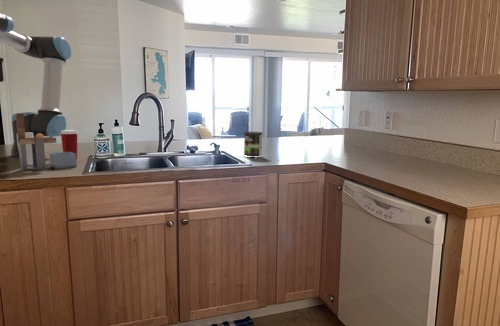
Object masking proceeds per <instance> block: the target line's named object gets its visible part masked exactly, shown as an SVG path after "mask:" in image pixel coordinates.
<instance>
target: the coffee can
mask: <svg viewBox="0 0 500 326" xmlns="http://www.w3.org/2000/svg"><path fill="white" fill-rule="evenodd" d="M243 145H244V147H243V149H244V150H243V153H244V154H243V156H244V155H247V156H260V155H262V152H263V150H262V148H263V132H261V131H245V132H244V144H243Z"/></svg>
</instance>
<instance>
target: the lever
mask: <svg viewBox="0 0 500 326" xmlns="http://www.w3.org/2000/svg"><path fill="white" fill-rule="evenodd" d="M23 113H24V112H16V113H15V114H16V124H17V136H18V144H20V145H25V144H36V142H35V139H36V138H25V127H24V114H23ZM39 139H44V144H56V143H57V137H48V136H44V138H39Z"/></svg>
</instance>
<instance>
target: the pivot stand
mask: <svg viewBox="0 0 500 326" xmlns="http://www.w3.org/2000/svg"><path fill="white" fill-rule="evenodd" d="M35 142H36V144H31V146H32V159H33V165H28V168H29V169H30V170H31V171H34V172H37V171H38V172H39V171H49V169H50V167H51V166H47V164H46V155H45V153H46V152H45V143H44V139H35Z"/></svg>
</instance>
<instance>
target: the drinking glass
mask: <svg viewBox="0 0 500 326" xmlns="http://www.w3.org/2000/svg"><path fill="white" fill-rule="evenodd" d="M25 138H34V135H33V133H32V132H25ZM17 144H18V136H17ZM25 145H26V156H27V166H33V159H32V146H31V144H25ZM18 149H19V144H18Z"/></svg>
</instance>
